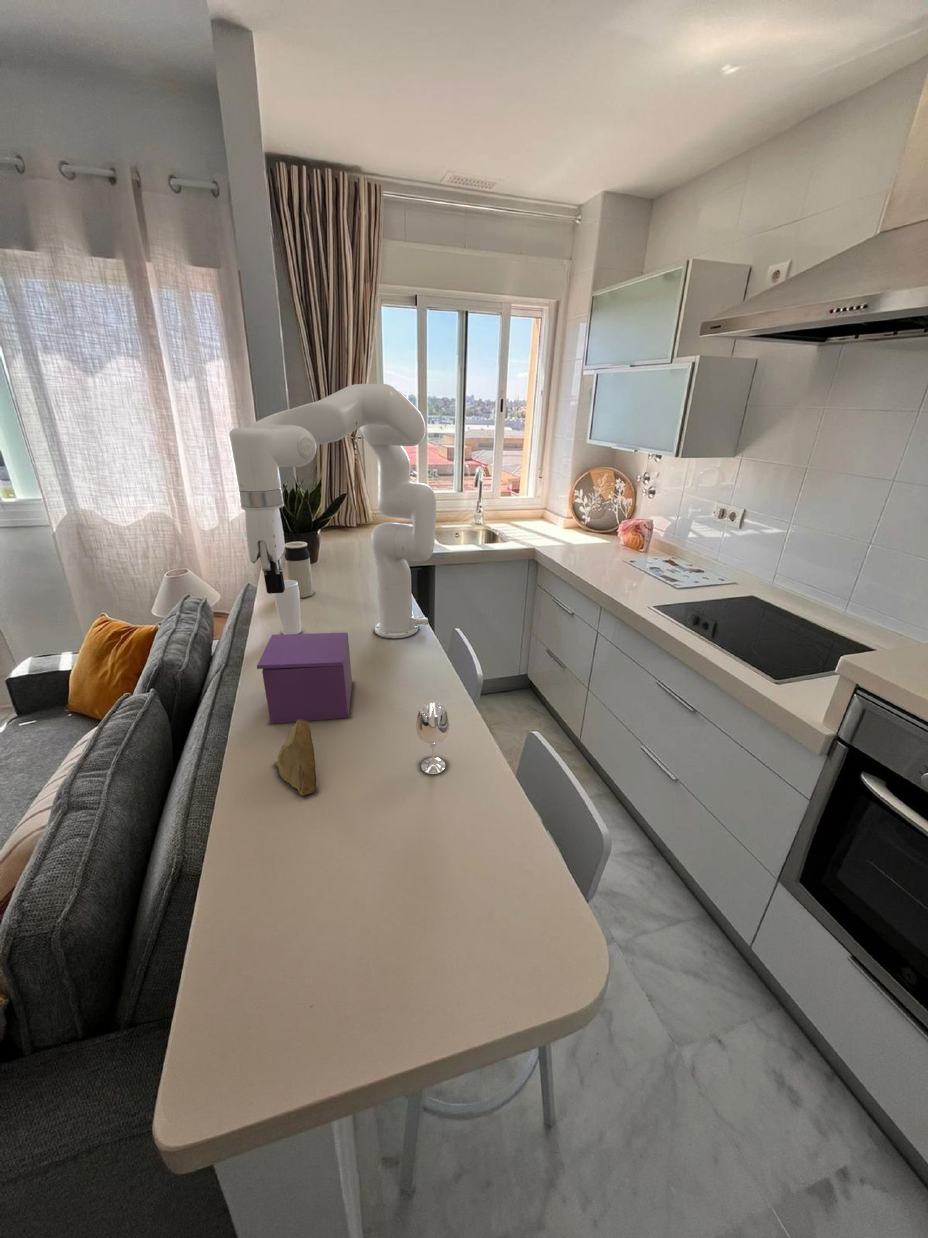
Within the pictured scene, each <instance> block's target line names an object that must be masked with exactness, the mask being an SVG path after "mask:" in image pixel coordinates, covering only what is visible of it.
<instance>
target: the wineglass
mask: <svg viewBox="0 0 928 1238" xmlns="http://www.w3.org/2000/svg"><path fill="white" fill-rule="evenodd" d="M415 730H416V734H417V736H418V737H419V740H421V741H422V742H424V743H426V744H429V746H430V750H431V757H429V758H426V759H424V760H423V761H422V762H421V764H420V769H421V770H422V771H423V772H424V773H425V774H428V775H437V774H440V773H442V772H443V771H445V769H446V765H447V764H446V762H445V761H444V760H443V759H441V758H439V757H435V750H436V746H437V744H439V743H441V742H443V741H444V740H445V739H446V738H447V737H448V735H449V731H450V720H449V715H448V711H447V708H446V706H445V705H443V704H442V703H439V702H427V703H424V704H422V705H421V706H420V707H419V708H418V712H417V716H416V722H415Z"/></svg>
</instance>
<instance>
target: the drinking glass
mask: <svg viewBox="0 0 928 1238" xmlns="http://www.w3.org/2000/svg"><path fill="white" fill-rule="evenodd" d="M284 585H285V590H284V592H283V593H273V598H274V602H275V607H276V610H277V614H278V615H277V616H278V619H279V624H280V626H281V627H280V628H281V632H282V633H281V634H301V632H302V621H301V620H302V619H301V598H300V594H299V587H298V582H297V581H294V580H288V579H284Z"/></svg>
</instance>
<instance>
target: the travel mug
mask: <svg viewBox="0 0 928 1238" xmlns="http://www.w3.org/2000/svg"><path fill="white" fill-rule="evenodd" d="M307 547H308V543H307V542H305V541H289V542H286V543H285V551H284V553H283V555H284V562H285V569H286V578H287V580H294V581H297V582H298V587H299V594H300V599H302V598H303V599H304V598H308V597H311V596H312V595H313V594H314V585H313V584H314V583H313V575H312V568H311V558H310V557H311V556H310V551H308V548H307Z"/></svg>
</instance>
